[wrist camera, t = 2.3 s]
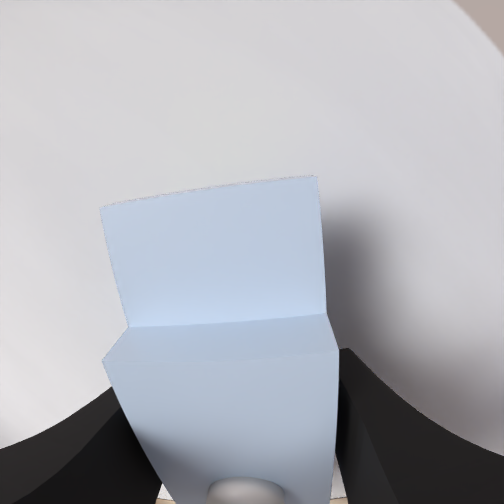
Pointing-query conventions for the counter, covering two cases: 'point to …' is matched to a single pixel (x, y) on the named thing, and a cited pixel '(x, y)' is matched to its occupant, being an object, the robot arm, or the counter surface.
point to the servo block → (227, 341)
